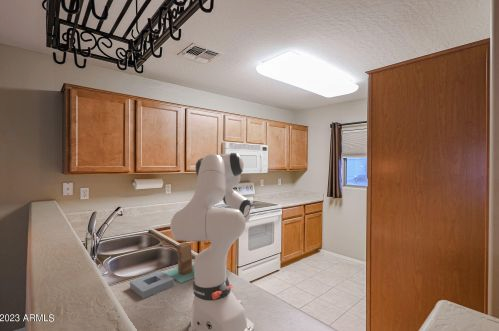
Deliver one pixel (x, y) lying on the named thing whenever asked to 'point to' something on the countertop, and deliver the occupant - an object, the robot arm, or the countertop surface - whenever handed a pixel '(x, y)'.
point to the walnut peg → (184, 258)
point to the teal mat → (179, 277)
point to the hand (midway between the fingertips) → (207, 224)
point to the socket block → (151, 284)
